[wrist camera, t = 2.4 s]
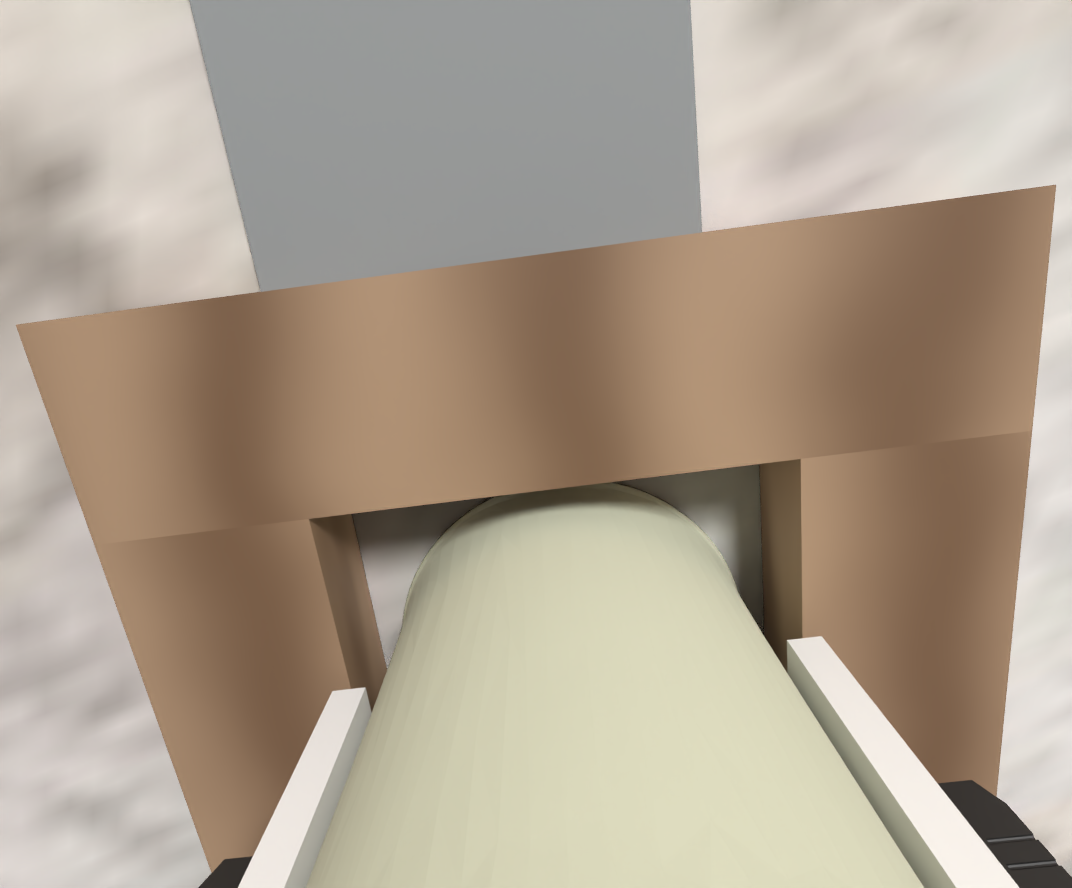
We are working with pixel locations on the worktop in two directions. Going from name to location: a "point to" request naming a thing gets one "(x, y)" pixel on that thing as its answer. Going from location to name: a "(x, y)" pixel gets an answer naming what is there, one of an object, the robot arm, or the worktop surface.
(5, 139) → the worktop surface
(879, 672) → the housing
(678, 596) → the can
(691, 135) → the mat
